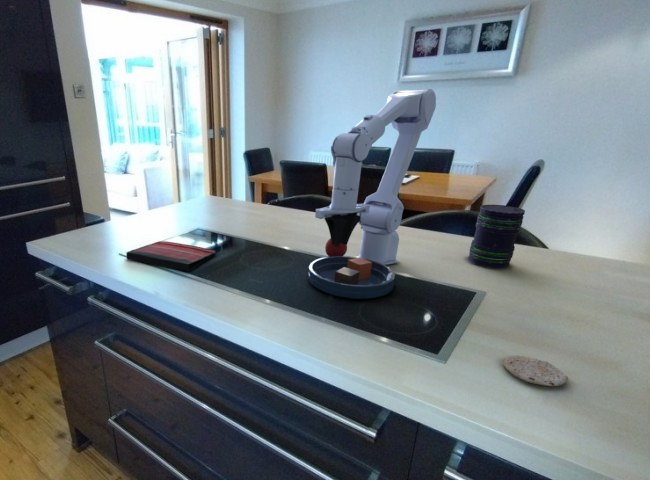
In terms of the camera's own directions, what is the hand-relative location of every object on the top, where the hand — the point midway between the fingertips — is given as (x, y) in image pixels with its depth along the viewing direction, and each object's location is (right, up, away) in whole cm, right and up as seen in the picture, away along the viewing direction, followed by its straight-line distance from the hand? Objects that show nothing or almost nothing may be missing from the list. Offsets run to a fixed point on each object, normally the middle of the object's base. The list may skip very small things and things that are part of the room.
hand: (339, 244), depth 95 cm
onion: (+3, -4, +13) cm, 14 cm away
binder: (-43, -3, +17) cm, 46 cm away
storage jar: (+44, -4, +12) cm, 46 cm away
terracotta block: (+5, -8, +1) cm, 9 cm away
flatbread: (+21, -23, -34) cm, 46 cm away
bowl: (+2, -10, -1) cm, 10 cm away
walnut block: (0, -10, -5) cm, 11 cm away
